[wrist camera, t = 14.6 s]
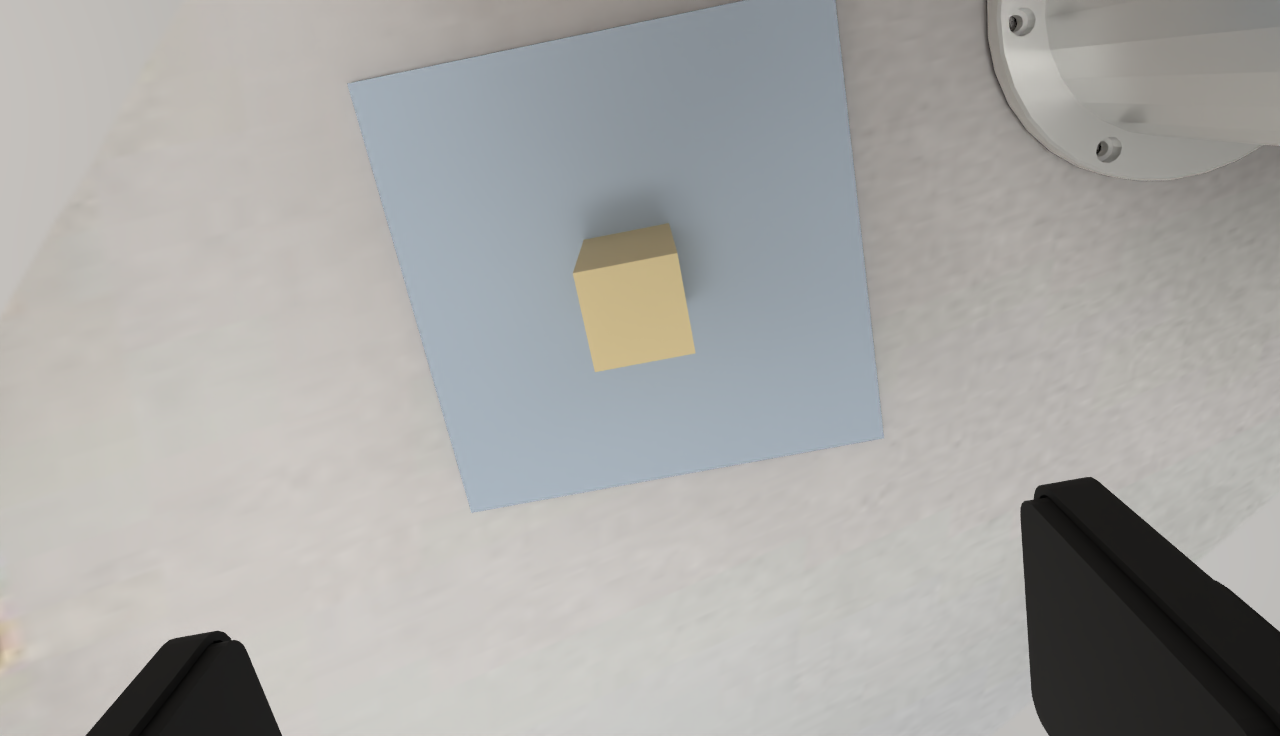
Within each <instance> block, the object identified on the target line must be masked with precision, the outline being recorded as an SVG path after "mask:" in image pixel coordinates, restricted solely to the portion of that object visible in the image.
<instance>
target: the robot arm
mask: <svg viewBox="0 0 1280 736" xmlns="http://www.w3.org/2000/svg"><path fill="white" fill-rule="evenodd" d="M987 15H988V41H989V46H990V50H991V55H992V60H993V65H994V70H995V74H996V76H997V78H998V81H999V83H1000V85H1001V88H1002V90H1003V92H1004V95H1005V97H1006V99H1007V102H1008V104H1009V105H1010V107H1011V108H1012V110H1013V111H1014V113H1015V114H1016V115H1017V117H1018V118H1019V120H1020V121H1021V123H1022V124H1023V125H1024V127H1025V128H1026V130H1027V131H1028V132H1029V133H1030V134H1032V135H1033V136H1034V137H1035V138H1036V139H1037V140H1038V141H1039V142H1040V143H1041V144H1043V145H1044V146H1045V147H1046V148H1047V149H1048V150H1049V151H1050V152H1052V153H1054V154H1056V155H1057V156H1059V157H1061V158H1063V159H1064V160H1066V161H1068V162H1070V163H1071V164H1073V165H1075V166H1077V167H1079V168H1083V169H1086V170H1089V171H1092V172H1096V173H1099V174H1102V175H1105V176H1110V177H1117V178H1124V179H1130V180H1135V181H1156V180H1174V179H1179V178H1184V177H1189V176H1194V175H1199V174H1204V173H1207V172H1210V171H1212V170H1215V169H1217V168H1220V167H1222V166H1225V165H1228V164H1230V163H1233V162H1235V161H1238V160H1240V159H1241V158H1243V157H1245V156H1247V155H1248V154H1250V153H1252V152H1253V151H1255V150H1257V149H1258V148H1260V147H1262V146H1264V145H1272V146H1280V0H987ZM1011 16H1013V17H1015V18H1016V20H1017V27H1016V28H1015V30H1014V31H1012V32H1011V31H1010V28H1009V20H1010V17H1011ZM1099 143H1101V146H1102V147H1101V151H1100V152H1099V153H1098V154H1096V150H1097V146H1098V144H1099ZM1021 531H1022V547H1023V563H1024V579H1025V595H1026V611H1027V627H1028V643H1029V659H1030V674H1031V690H1032V697H1033V701H1034V705H1035V708H1036V711H1037V714H1038V716H1039V719H1040V721H1041V723H1042V725H1043V726H1044V728H1045V730H1046V731H1047V733H1048V735H1049V736H1280V632H1279V631H1278V630H1277V629H1276V628H1274V627H1273V626H1272V625H1271V624H1270V623H1269V622H1267V621H1266V620H1265V619H1264V618H1263V617H1262V616H1260V615H1259V614H1258V613H1257V612H1256V611H1255V610H1253V609H1252V608H1251V607H1250V606H1249V605H1247V604H1246V603H1245V602H1244V601H1243V600H1241V599H1240V598H1239V597H1238V596H1237V595H1235V594H1234V593H1233V592H1232V591H1231V590H1230V589H1228V588H1227V587H1225V586H1224V585H1222V584H1220V583H1219V582H1217V581H1215V580H1213V579H1212V578H1211V577H1210V576H1208V575H1207V574H1206V573H1205V572H1204V571H1203V570H1201V569H1200V568H1199V567H1198V566H1197V565H1196V564H1194V563H1193V562H1192V561H1191V560H1190V559H1189V558H1187V557H1186V556H1185V555H1184V554H1183V553H1182V552H1180V551H1179V550H1178V549H1177V548H1176V547H1175V546H1173V545H1172V544H1171V543H1170V542H1169V541H1168V540H1166V539H1165V538H1164V537H1163V536H1162V535H1160V534H1159V533H1158V532H1157V531H1156V530H1155V529H1153V528H1152V527H1151V526H1150V525H1149V524H1148V523H1146V522H1145V521H1144V520H1143V519H1142V518H1141V517H1139V516H1138V515H1137V514H1136V513H1135V512H1134V511H1132V510H1131V509H1130V508H1129V507H1128V506H1127V505H1125V504H1124V503H1123V502H1122V501H1121V500H1120V499H1118V498H1117V497H1116V496H1115V495H1114V494H1112V493H1111V492H1110V491H1109V490H1108V489H1107V488H1105V487H1104V486H1103V485H1102V484H1101V483H1100V482H1098V481H1097V480H1095V479H1094V478H1092V477H1085V478H1079V479H1074V480H1068V481H1062V482H1057V483H1051V484H1045V485H1040V486H1038V487H1037V488H1036V490H1035V494H1034V500H1029V501H1024V502H1023V503H1022V505H1021ZM86 736H282V735H281V732H280V730H279V727H278V725H277V723H276V720H275V718H274V715H273V713H272V711H271V708H270V706H269V703H268V701H267V699H266V696H265V694H264V691H263V689H262V687H261V684H260V682H259V679H258V677H257V675H256V672H255V670H254V667H253V665H252V663H251V660H250V658H249V655H248V653H247V651H246V649H245V647H244V645H243V644H242V643H240V642H239V641H236V640H231V638H230V637H229V636H228V635H227V634H226V633H224V632H221V631H214V632H208V633H202V634H197V635H191V636H185V637H180V638H175V639H171V640H169V641H168V642H166V643H165V644H164V645H163V646H162V647H161V648H160V649H159V651H158V652H157V653H156V654H155V655H154V656H153V658H152V659H151V660H150V661H149V662H148V663H147V665H146V666H145V667H144V668H143V669H142V670H141V672H140V673H139V674H138V675H137V676H136V677H135V679H134V680H133V681H132V682H131V683H130V684H129V686H128V687H127V688H126V689H125V690H124V692H123V693H122V694H121V695H120V696H119V697H118V699H117V700H116V701H115V702H114V703H113V704H112V706H111V707H110V708H109V709H108V710H107V711H106V713H105V714H104V715H103V716H102V717H101V718H100V720H99V721H98V722H97V723H96V724H95V725H94V727H93V728H92V729H91V730H90V731H89V732H88V734H87V735H86Z"/></svg>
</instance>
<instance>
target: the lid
mask: <svg viewBox="0 0 1280 736" xmlns="http://www.w3.org/2000/svg"><path fill="white" fill-rule="evenodd" d="M348 88H349V91H350V95H351V98H352V101H353V105H354V108H355V112H356V115H357V119H358V122H359V126H360V129H361V133H362V136H363V139H364V143H365V146H366V150H367V153H368V157H369V160H370V164H371V167H372V171H373V174H374V177H375V181H376V184H377V188H378V191H379V195H380V198H381V202H382V205H383V209H384V212H385V215H386V219H387V222H388V226H389V229H390V233H391V236H392V240H393V243H394V246H395V250H396V253H397V257H398V260H399V264H400V267H401V271H402V274H403V278H404V281H405V284H406V288H407V291H408V295H409V298H410V302H411V305H412V309H413V312H414V316H415V319H416V322H417V326H418V329H419V333H420V336H421V340H422V343H423V347H424V350H425V354H426V357H427V360H428V364H429V367H430V371H431V374H432V378H433V381H434V385H435V388H436V392H437V395H438V398H439V402H440V405H441V409H442V412H443V416H444V419H445V423H446V426H447V430H448V433H449V436H450V440H451V443H452V447H453V450H454V454H455V457H456V461H457V464H458V468H459V471H460V474H461V478H462V481H463V485H464V488H465V492H466V495H467V499H468V502H469V506H470V509H471V512H472V513H473V512H479V511H484V510H490V509H495V508H501V507H506V506H512V505H517V504H523V503H528V502H534V501H539V500H545V499H550V498H556V497H561V496H567V495H573V494H578V493H584V492H589V491H595V490H600V489H606V488H611V487H617V486H622V485H628V484H633V483H639V482H644V481H650V480H656V479H661V478H667V477H672V476H678V475H683V474H689V473H694V472H700V471H705V470H711V469H716V468H722V467H727V466H733V465H738V464H744V463H750V462H755V461H761V460H766V459H772V458H777V457H783V456H788V455H794V454H799V453H805V452H810V451H816V450H821V449H827V448H833V447H838V446H844V445H849V444H855V443H860V442H866V441H871V440H877V439H882V438H884V434H883V425H882V416H881V407H880V398H879V389H878V380H877V371H876V362H875V353H874V344H873V335H872V326H871V317H870V308H869V299H868V290H867V281H866V272H865V263H864V254H863V245H862V236H861V227H860V218H859V209H858V200H857V191H856V182H855V173H854V164H853V155H852V146H851V137H850V128H849V119H848V110H847V101H846V92H845V83H844V74H843V65H842V56H841V47H840V38H839V29H838V20H837V11H836V2H835V0H744V1H739V2H734V3H729V4H725V5H720V6H715V7H710V8H705V9H701V10H696V11H691V12H686V13H682V14H677V15H672V16H667V17H663V18H658V19H653V20H648V21H643V22H639V23H634V24H629V25H624V26H620V27H615V28H610V29H605V30H601V31H596V32H591V33H586V34H582V35H577V36H572V37H567V38H562V39H558V40H553V41H548V42H543V43H539V44H534V45H529V46H524V47H520V48H515V49H510V50H505V51H500V52H496V53H491V54H486V55H481V56H477V57H472V58H467V59H462V60H458V61H453V62H448V63H443V64H438V65H434V66H429V67H424V68H419V69H415V70H410V71H405V72H400V73H396V74H391V75H386V76H381V77H377V78H372V79H367V80H362V81H357V82H353V83H348Z"/></svg>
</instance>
